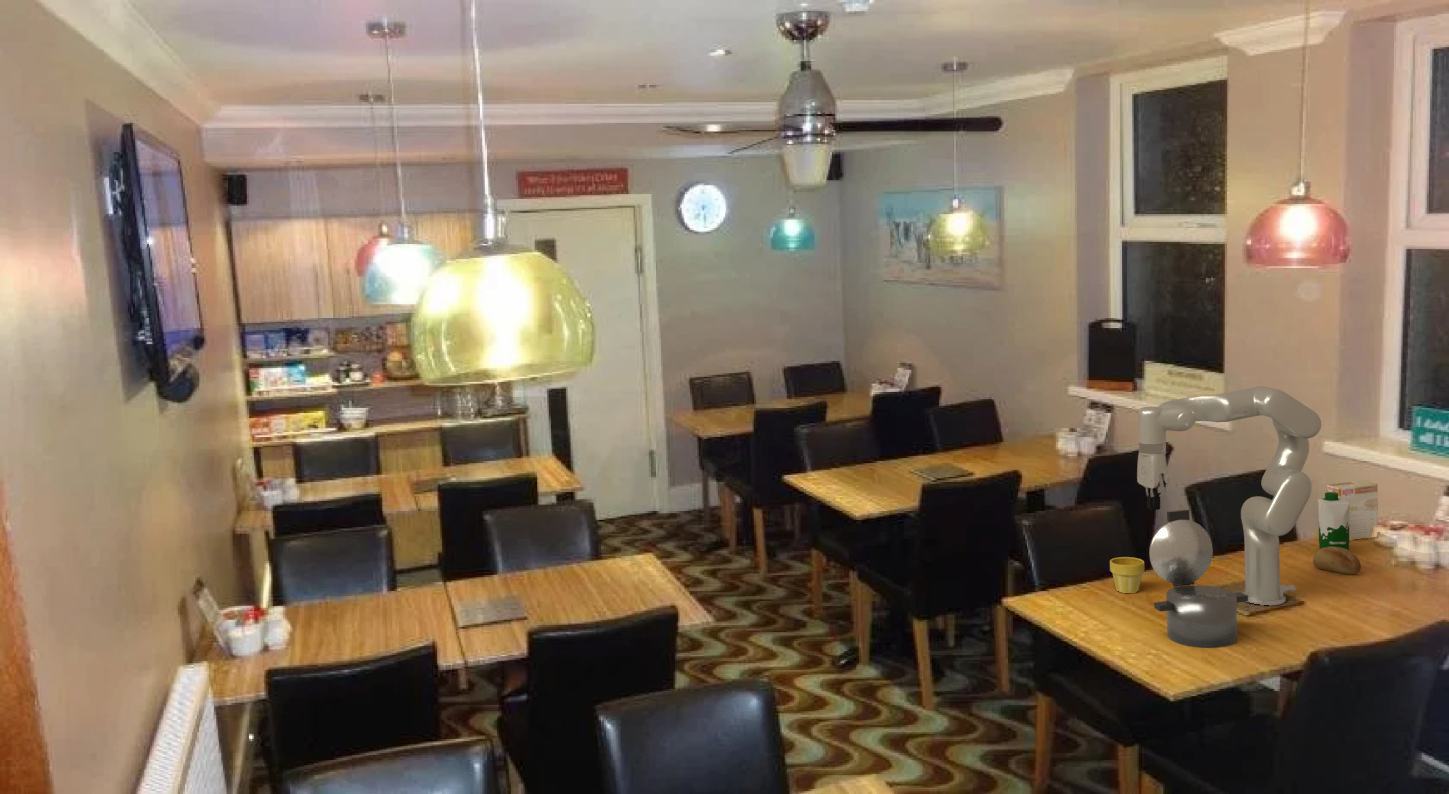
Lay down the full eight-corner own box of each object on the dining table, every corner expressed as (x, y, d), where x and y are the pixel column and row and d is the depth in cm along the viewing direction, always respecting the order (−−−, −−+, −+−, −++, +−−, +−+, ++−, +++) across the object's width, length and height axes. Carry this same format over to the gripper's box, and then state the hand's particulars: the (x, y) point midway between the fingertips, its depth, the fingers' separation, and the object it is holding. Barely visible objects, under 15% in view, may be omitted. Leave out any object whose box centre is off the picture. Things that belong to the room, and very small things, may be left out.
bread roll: (1350, 579, 356) (1350, 554, 355) (1305, 570, 369) (1304, 546, 368) (1367, 573, 361) (1367, 549, 360) (1322, 564, 374) (1322, 540, 373)
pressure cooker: (1224, 620, 328) (1224, 580, 326) (1264, 641, 309) (1263, 599, 307) (1140, 630, 324) (1138, 589, 323) (1174, 652, 306) (1173, 609, 304)
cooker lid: (1215, 582, 324) (1209, 580, 327) (1210, 508, 323) (1204, 506, 326) (1153, 589, 322) (1148, 587, 325) (1148, 514, 321) (1143, 513, 324)
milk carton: (1343, 548, 389) (1342, 491, 386) (1353, 555, 380) (1352, 497, 377) (1315, 549, 390) (1315, 492, 388) (1325, 556, 381) (1324, 498, 379)
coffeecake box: (1365, 533, 405) (1364, 479, 403) (1378, 537, 398) (1378, 483, 396) (1326, 537, 404) (1325, 483, 401) (1339, 542, 397) (1339, 487, 394)
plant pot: (1140, 585, 365) (1139, 556, 364) (1149, 595, 355) (1148, 564, 354) (1107, 586, 366) (1106, 557, 365) (1115, 596, 356) (1114, 566, 355)
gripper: (1128, 445, 341) (1129, 505, 344) (1153, 453, 327) (1154, 516, 329) (1151, 443, 342) (1153, 502, 345) (1177, 451, 328) (1178, 513, 330)
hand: (1153, 509), depth 337 cm, fingers closed
